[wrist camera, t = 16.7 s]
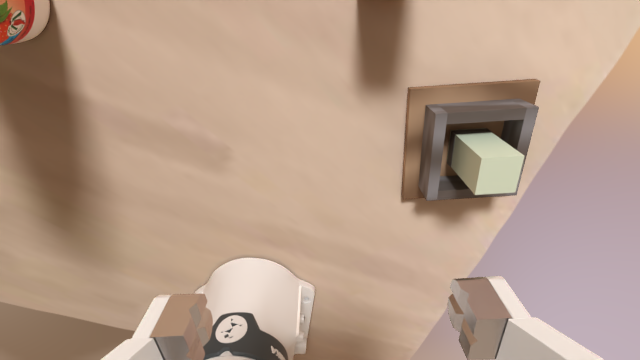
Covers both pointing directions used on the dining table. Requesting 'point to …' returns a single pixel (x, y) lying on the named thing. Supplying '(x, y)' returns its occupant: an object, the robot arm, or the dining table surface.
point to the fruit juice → (22, 19)
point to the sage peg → (484, 161)
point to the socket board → (461, 113)
